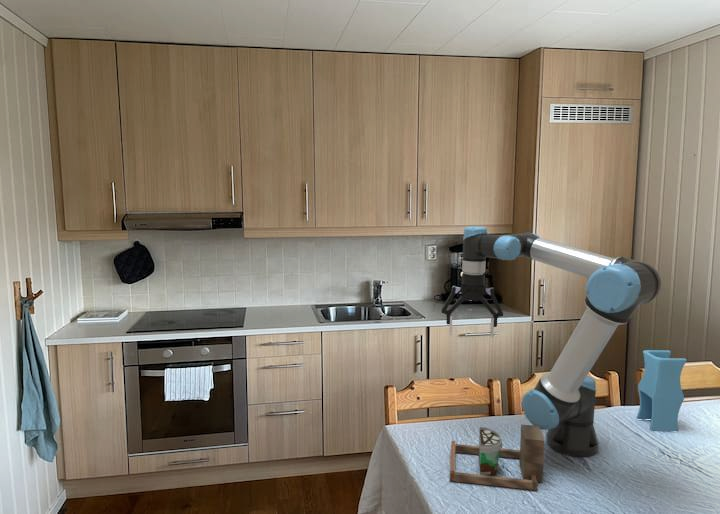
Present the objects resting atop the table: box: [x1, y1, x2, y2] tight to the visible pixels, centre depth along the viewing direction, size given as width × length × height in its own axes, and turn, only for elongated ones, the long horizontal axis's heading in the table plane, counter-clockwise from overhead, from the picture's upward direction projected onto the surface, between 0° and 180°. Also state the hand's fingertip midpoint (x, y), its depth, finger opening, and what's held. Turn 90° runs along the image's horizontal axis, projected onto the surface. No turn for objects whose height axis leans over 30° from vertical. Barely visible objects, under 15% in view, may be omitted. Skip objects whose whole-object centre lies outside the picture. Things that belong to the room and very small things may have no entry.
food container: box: [478, 426, 503, 476], centre depth 146 cm, size 12×6×10 cm, turn 169°
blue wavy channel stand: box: [635, 349, 687, 432], centre depth 174 cm, size 10×10×25 cm
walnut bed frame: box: [449, 424, 545, 491], centre depth 145 cm, size 25×17×12 cm
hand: (470, 334), depth 173 cm, fingers open, 13 cm apart
